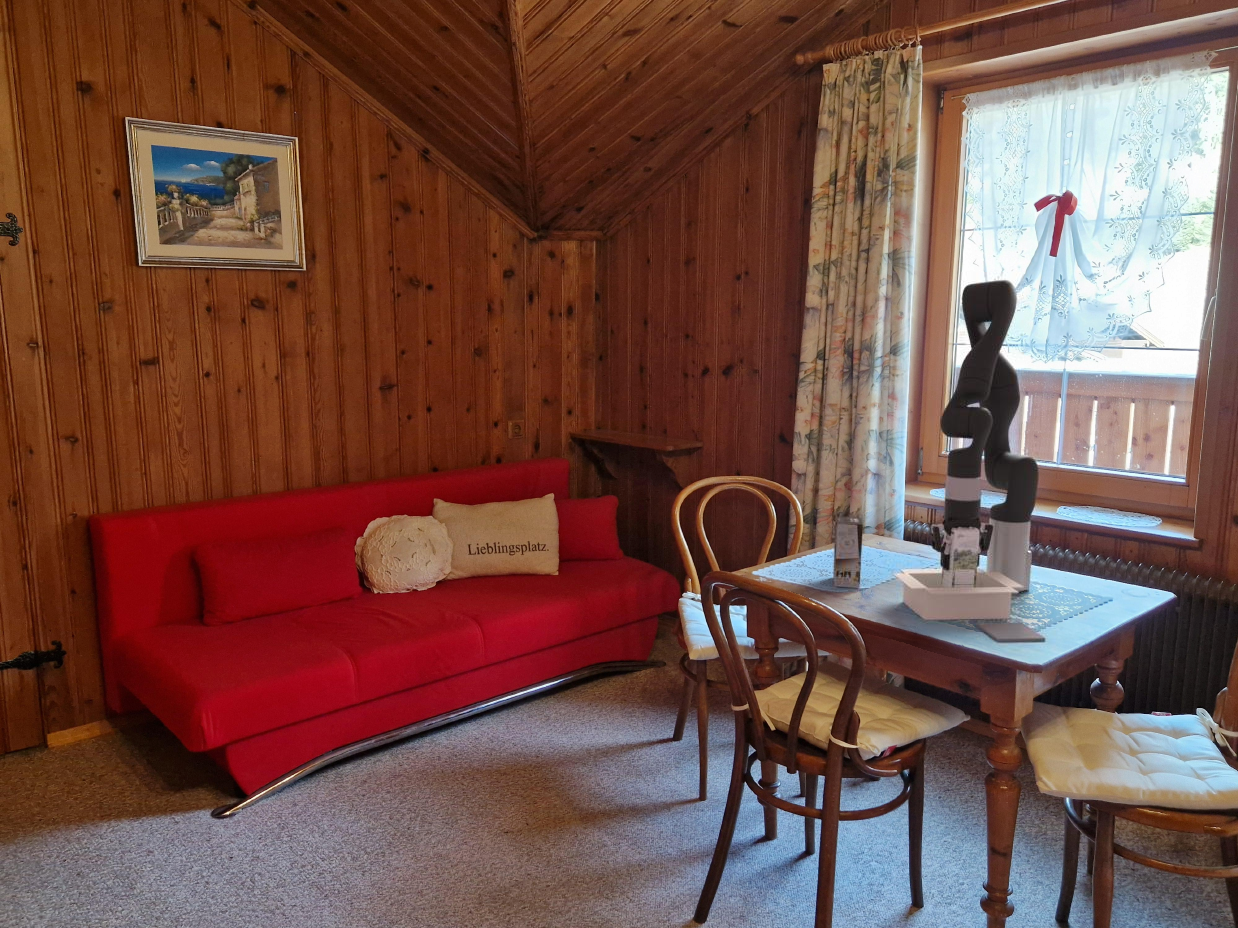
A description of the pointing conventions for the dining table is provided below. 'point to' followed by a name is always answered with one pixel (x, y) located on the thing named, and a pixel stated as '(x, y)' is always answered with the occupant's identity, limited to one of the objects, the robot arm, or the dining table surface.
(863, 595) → the dining table surface
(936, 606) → the carton
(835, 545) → the coffee box
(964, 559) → the syrup box
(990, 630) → the coaster
